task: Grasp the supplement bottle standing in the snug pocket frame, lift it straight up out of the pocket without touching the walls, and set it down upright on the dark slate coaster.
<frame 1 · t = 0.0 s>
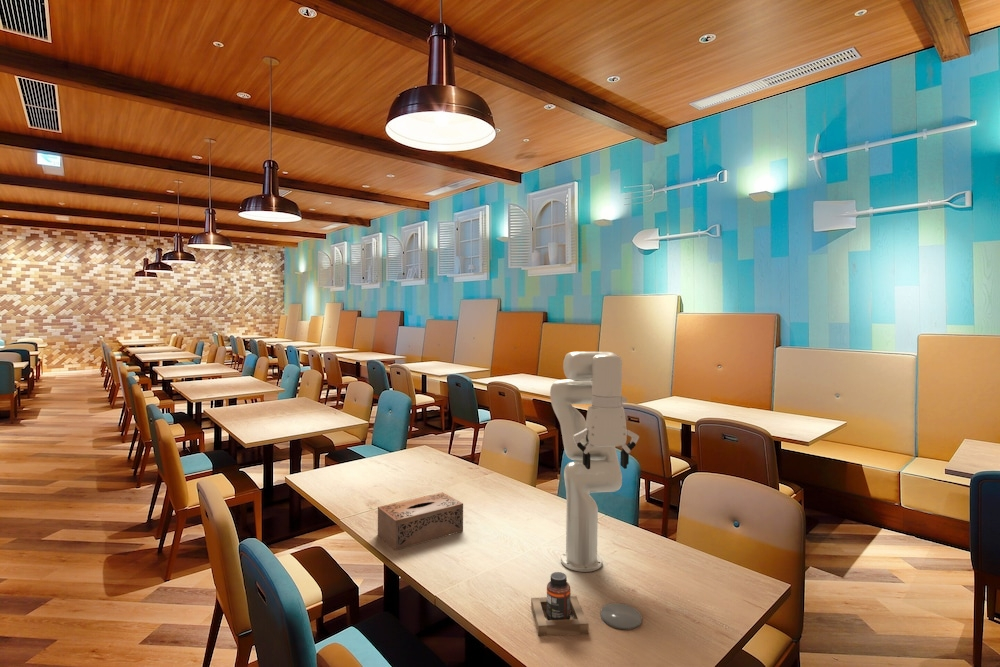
hand: (605, 467, 132), 37 cm above the table, tool pointing down, fingers open, 9 cm apart
pocket frame: (558, 620, 127), on the table
supplement bottle: (558, 620, 127), resting in pocket frame
coaster: (620, 617, 128), on the table
tissue box cover: (420, 534, 177), on the table
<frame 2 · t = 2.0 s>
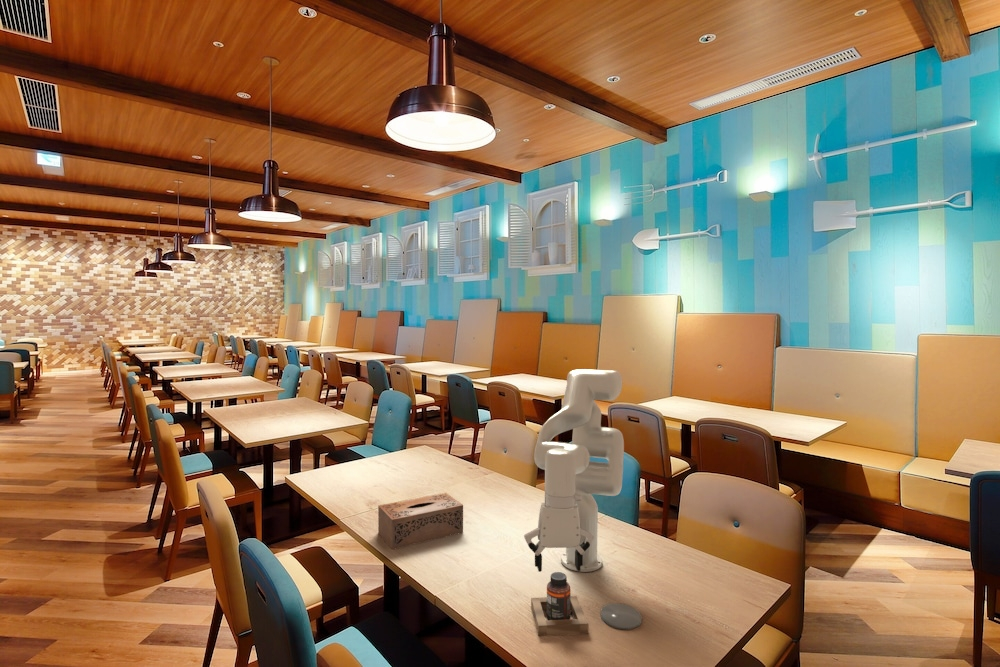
hand: (558, 568, 126), 13 cm above the table, tool pointing down, fingers open, 9 cm apart
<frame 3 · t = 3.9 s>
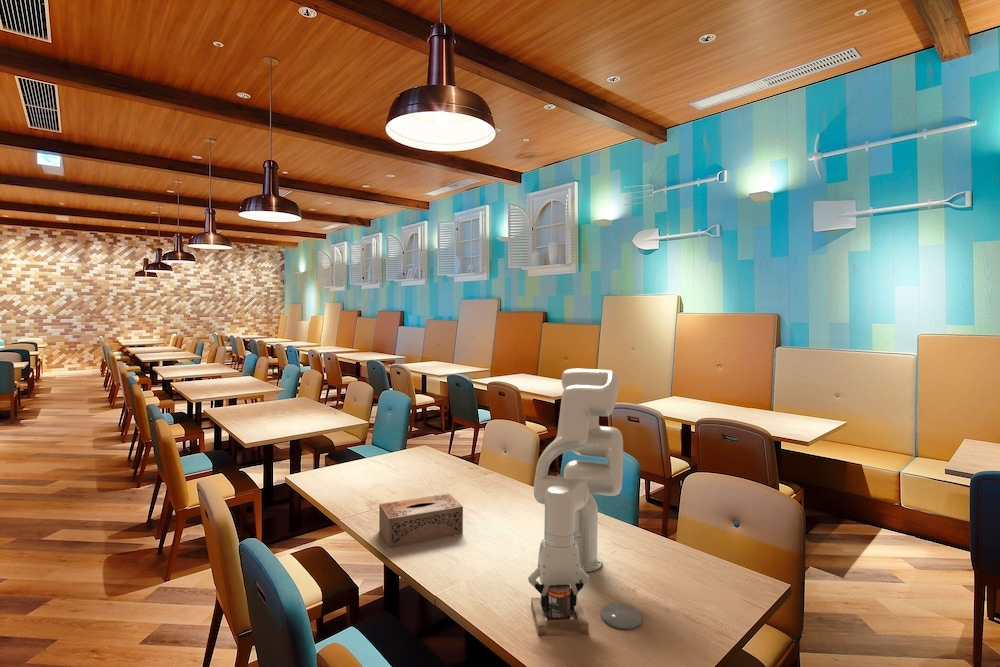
hand: (558, 607, 127), 3 cm above the table, tool pointing down, fingers closed on supplement bottle, 6 cm apart
supplement bottle: (558, 620, 127), resting in pocket frame, touching gripper
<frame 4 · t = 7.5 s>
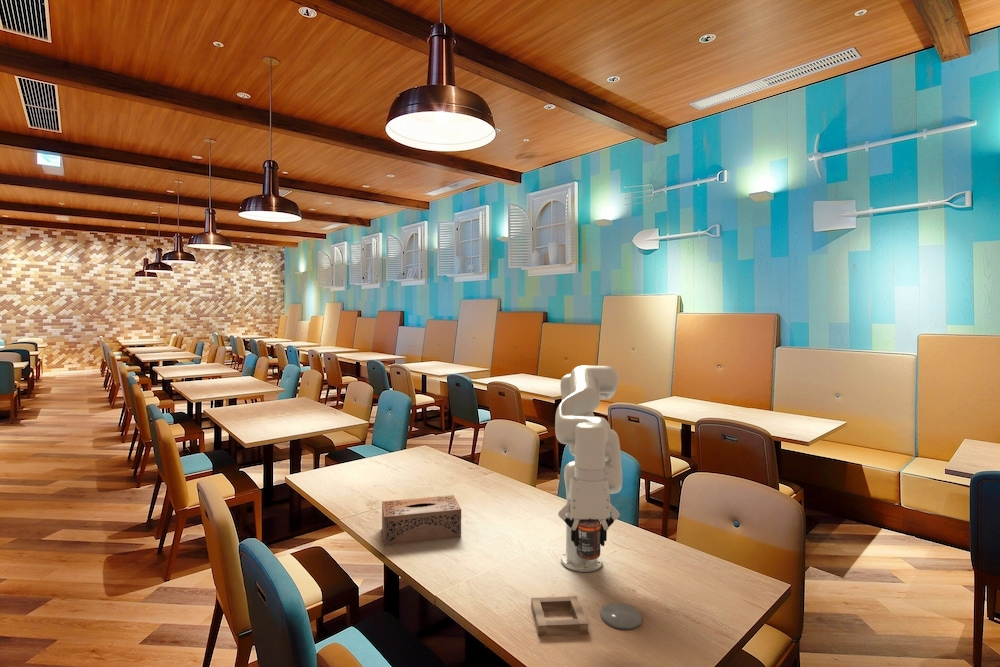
hand: (588, 543, 127), 19 cm above the table, tool pointing down, fingers closed on supplement bottle, 6 cm apart
supplement bottle: (588, 556, 127), point 16 cm above the table, touching gripper
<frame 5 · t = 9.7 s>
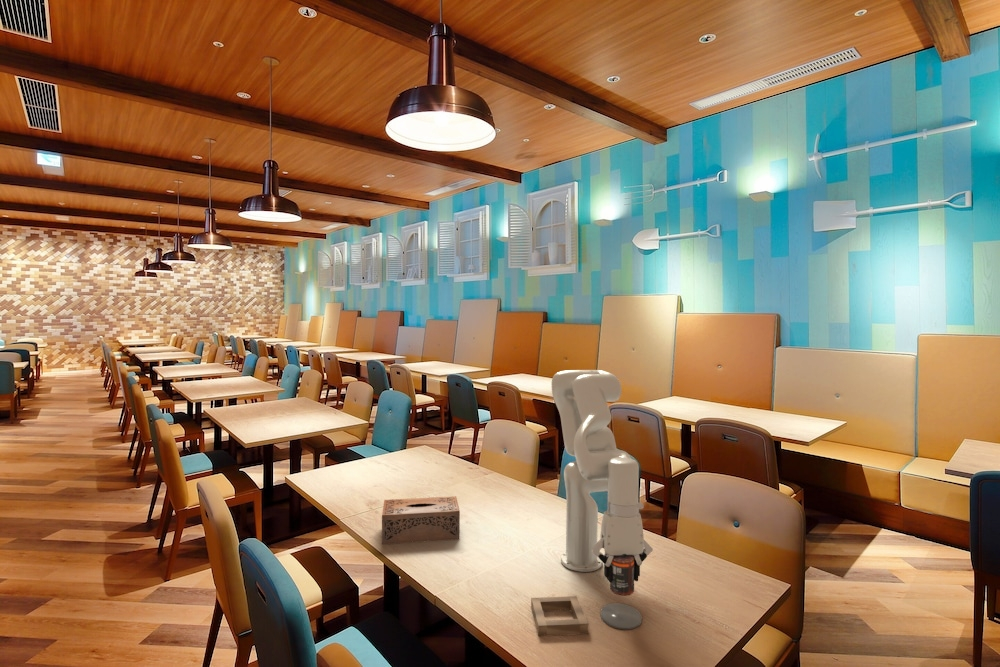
hand: (621, 578, 127), 10 cm above the table, tool pointing down, fingers closed on supplement bottle, 6 cm apart
supplement bottle: (621, 591, 127), point 7 cm above the table, touching gripper
when the fingers open (5 cm above the table, at t = 11.5 s): supplement bottle drops 2 cm, resting on coaster.
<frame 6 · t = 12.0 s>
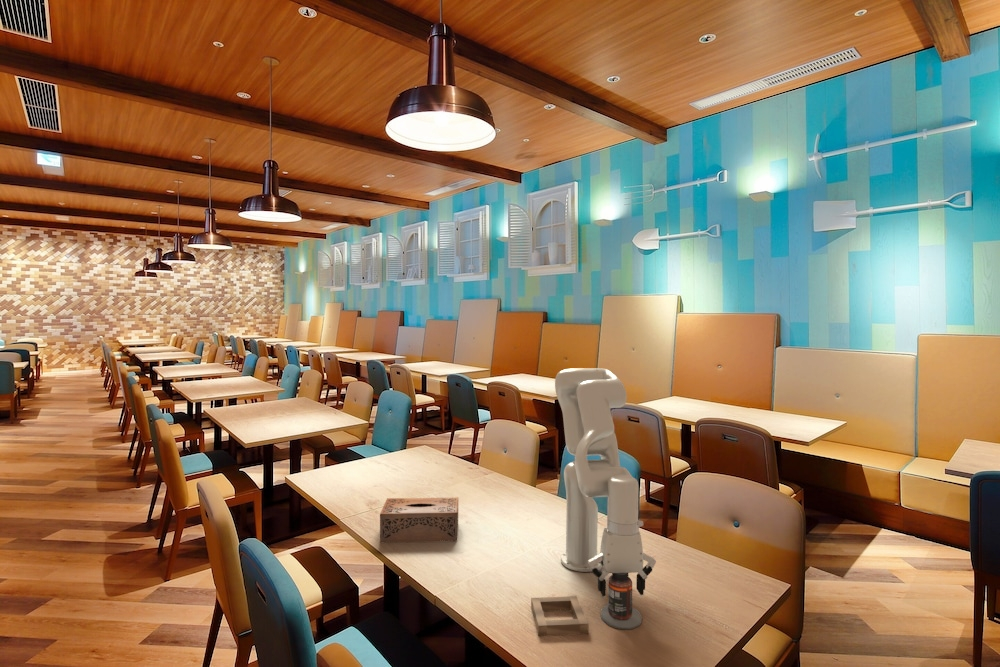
hand: (621, 592, 128), 6 cm above the table, tool pointing down, fingers open, 9 cm apart
supplement bottle: (619, 614, 128), point 1 cm above the table, touching coaster
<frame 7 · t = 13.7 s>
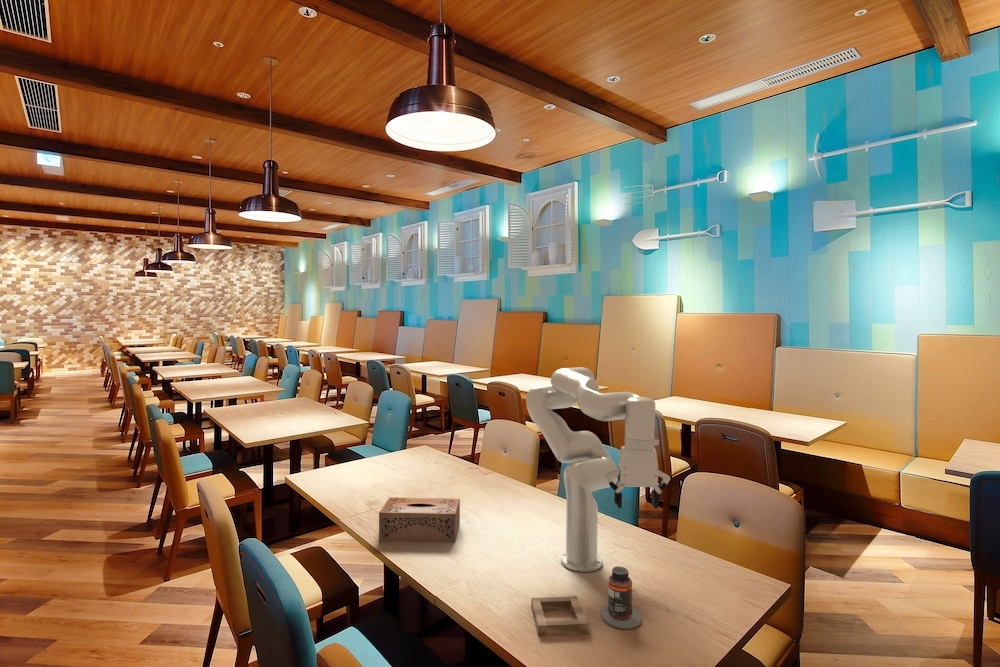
hand: (636, 506, 136), 25 cm above the table, tool pointing down, fingers open, 9 cm apart
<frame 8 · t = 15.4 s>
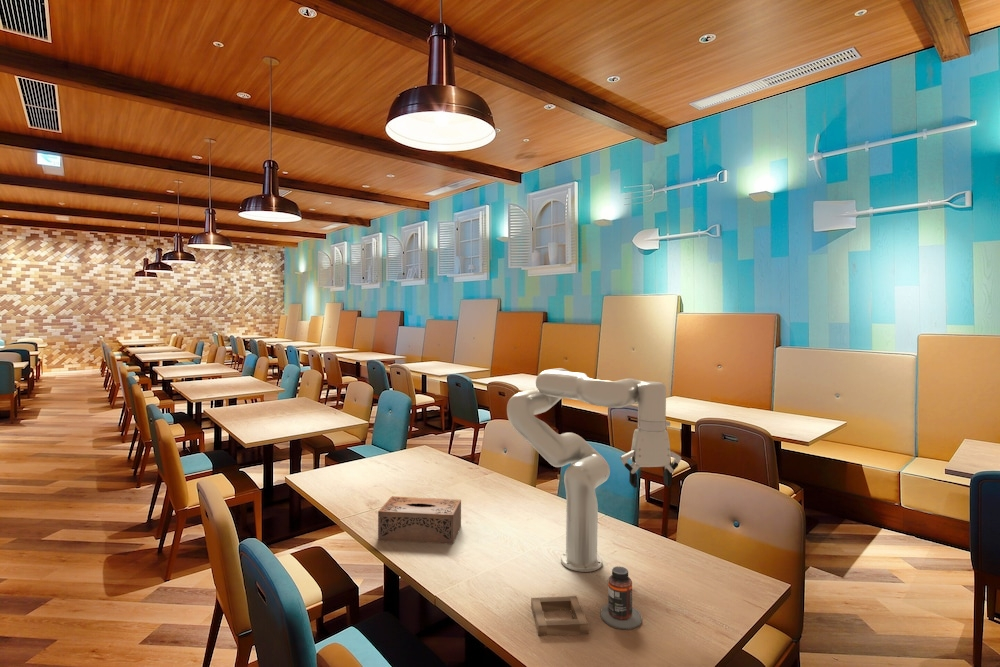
hand: (650, 485, 143), 28 cm above the table, tool pointing down, fingers open, 9 cm apart
at the end: supplement bottle 0.2 cm from the coaster (horizontally); supplement bottle tilted 0°; supplement bottle point 0.6 cm above the table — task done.
